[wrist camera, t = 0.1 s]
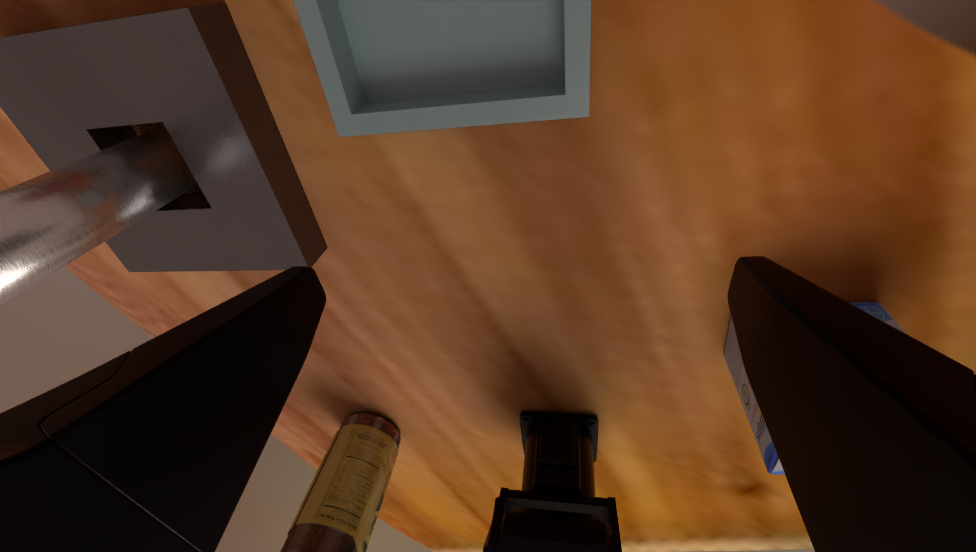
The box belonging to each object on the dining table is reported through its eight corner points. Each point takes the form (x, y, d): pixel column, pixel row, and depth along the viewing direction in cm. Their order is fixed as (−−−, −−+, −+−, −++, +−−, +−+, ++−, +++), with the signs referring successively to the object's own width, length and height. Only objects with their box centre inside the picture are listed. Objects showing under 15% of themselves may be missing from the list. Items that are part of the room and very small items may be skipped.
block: (327, 247, 28) (309, 269, 26) (157, 252, 31) (129, 271, 29) (225, 2, 20) (187, 7, 18) (5, 38, 23) (-48, 45, 21)
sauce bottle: (378, 451, 44) (272, 724, 28) (330, 420, 41) (187, 698, 26) (419, 434, 41) (325, 731, 25) (370, 399, 38) (233, 703, 23)
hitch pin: (234, 186, 26) (-6, 350, 15) (174, 190, 27) (-94, 347, 16) (195, 112, 24) (-131, 244, 13) (129, 118, 25) (-227, 248, 14)
